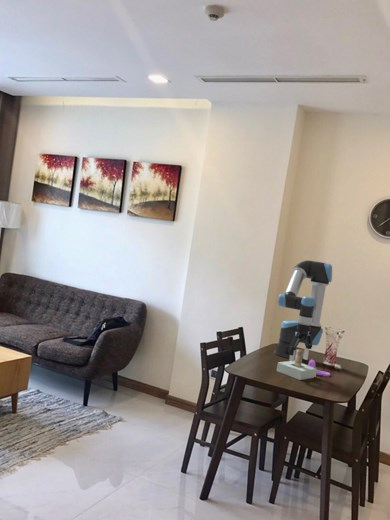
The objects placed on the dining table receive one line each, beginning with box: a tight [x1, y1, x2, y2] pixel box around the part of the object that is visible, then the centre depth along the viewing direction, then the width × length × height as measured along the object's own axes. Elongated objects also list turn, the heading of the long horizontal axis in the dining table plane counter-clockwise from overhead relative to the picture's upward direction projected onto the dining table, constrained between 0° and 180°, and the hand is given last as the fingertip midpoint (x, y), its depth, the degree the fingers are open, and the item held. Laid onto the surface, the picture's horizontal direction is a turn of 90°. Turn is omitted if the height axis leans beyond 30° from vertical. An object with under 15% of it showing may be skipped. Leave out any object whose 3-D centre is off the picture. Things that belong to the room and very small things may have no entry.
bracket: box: [307, 359, 331, 377], centre depth 284 cm, size 13×6×7 cm, turn 78°
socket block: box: [276, 360, 318, 381], centre depth 275 cm, size 16×16×5 cm
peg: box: [294, 348, 304, 368], centre depth 275 cm, size 4×4×14 cm
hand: (298, 360), depth 275 cm, fingers open, 13 cm apart
